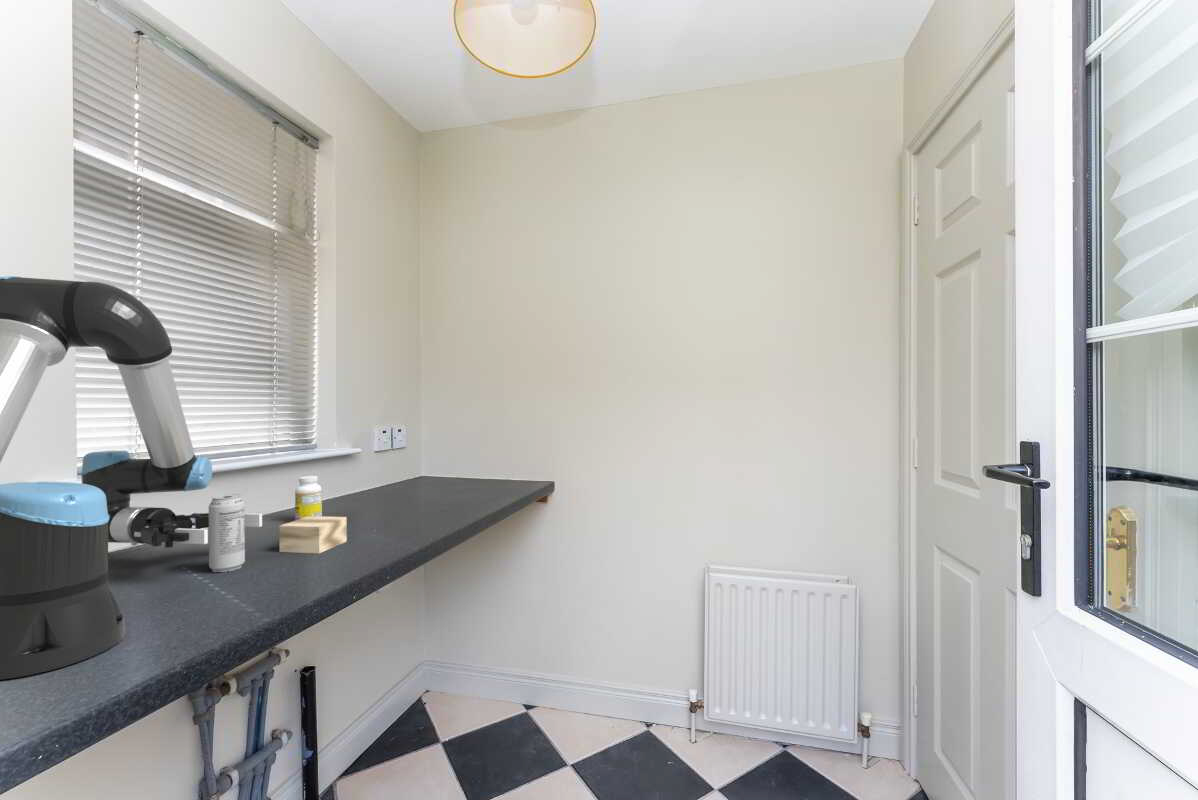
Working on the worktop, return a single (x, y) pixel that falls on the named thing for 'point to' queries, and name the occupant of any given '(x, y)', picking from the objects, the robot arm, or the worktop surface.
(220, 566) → the energy drink can
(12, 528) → the robot arm
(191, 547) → the worktop surface
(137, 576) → the worktop surface
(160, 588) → the worktop surface
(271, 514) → the worktop surface
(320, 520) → the oak block
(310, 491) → the supplement bottle
